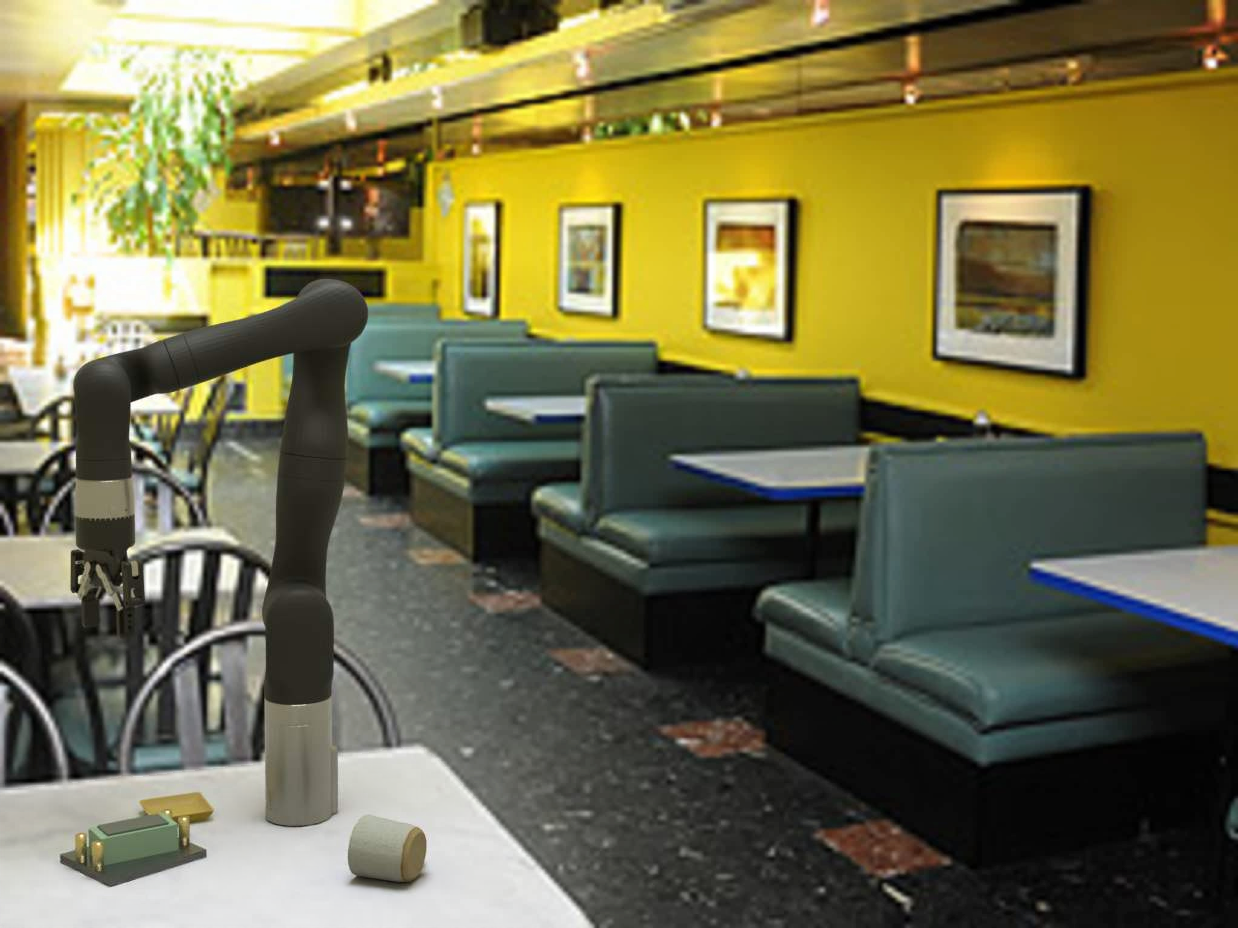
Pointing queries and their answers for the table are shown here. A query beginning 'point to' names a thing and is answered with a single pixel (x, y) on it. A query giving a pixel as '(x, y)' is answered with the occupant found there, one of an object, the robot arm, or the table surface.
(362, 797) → the table surface
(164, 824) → the green rectangular block
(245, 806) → the table surface
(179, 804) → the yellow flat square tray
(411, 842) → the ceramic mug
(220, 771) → the table surface
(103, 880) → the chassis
